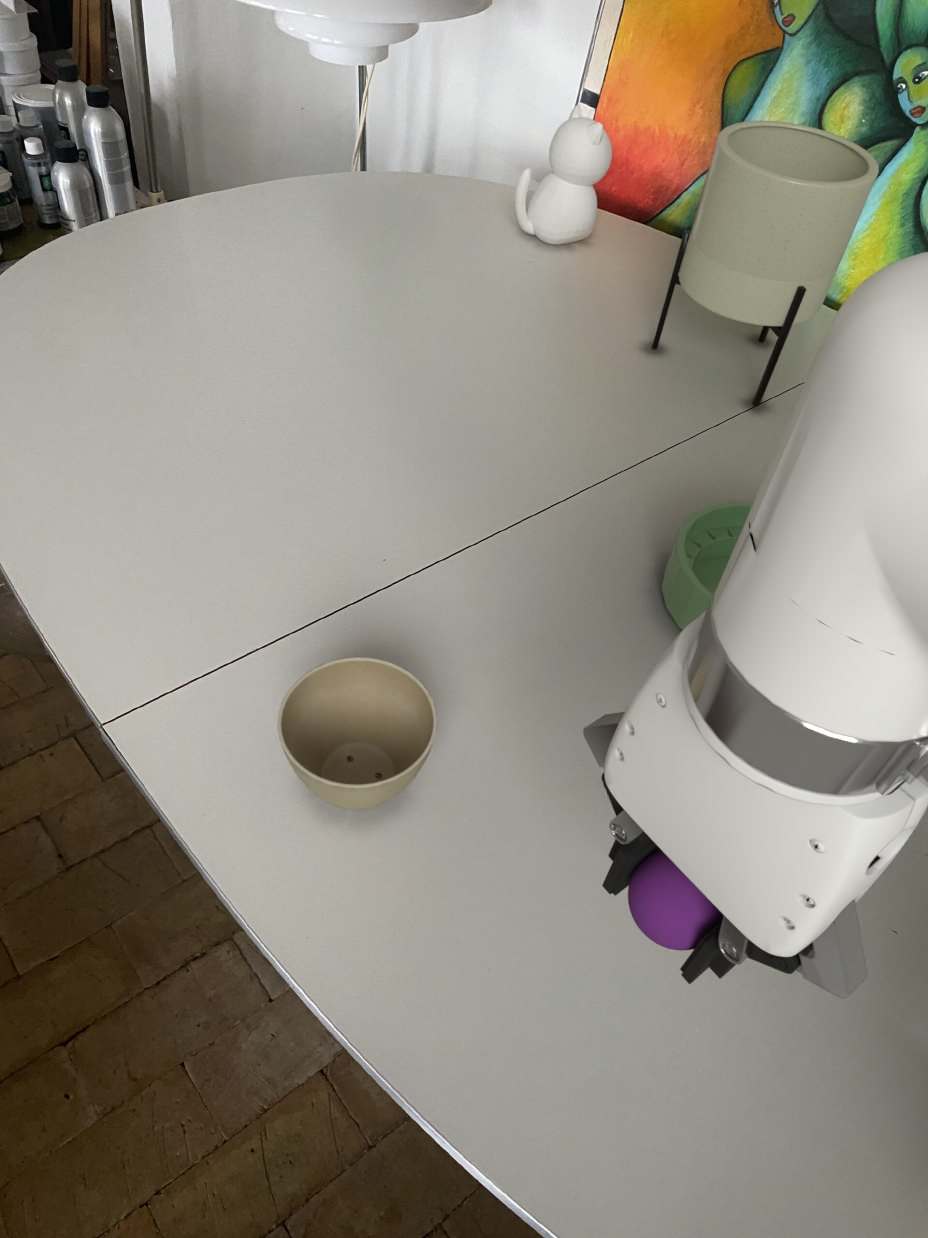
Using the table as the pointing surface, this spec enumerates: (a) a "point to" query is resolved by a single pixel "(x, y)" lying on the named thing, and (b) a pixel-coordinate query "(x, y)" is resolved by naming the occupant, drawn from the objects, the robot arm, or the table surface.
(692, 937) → the ball
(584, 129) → the cat figurine
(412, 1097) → the table surface
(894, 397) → the robot arm
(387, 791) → the flower pot
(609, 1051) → the table surface
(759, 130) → the planter
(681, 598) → the bowl
